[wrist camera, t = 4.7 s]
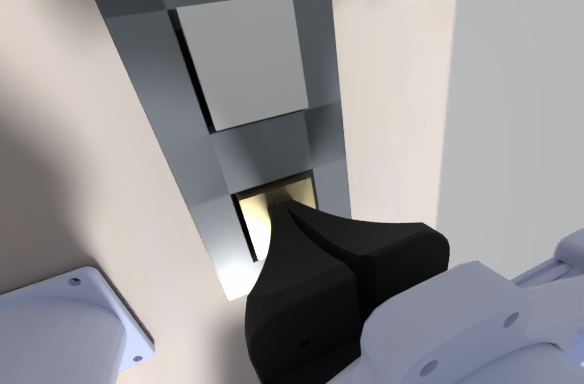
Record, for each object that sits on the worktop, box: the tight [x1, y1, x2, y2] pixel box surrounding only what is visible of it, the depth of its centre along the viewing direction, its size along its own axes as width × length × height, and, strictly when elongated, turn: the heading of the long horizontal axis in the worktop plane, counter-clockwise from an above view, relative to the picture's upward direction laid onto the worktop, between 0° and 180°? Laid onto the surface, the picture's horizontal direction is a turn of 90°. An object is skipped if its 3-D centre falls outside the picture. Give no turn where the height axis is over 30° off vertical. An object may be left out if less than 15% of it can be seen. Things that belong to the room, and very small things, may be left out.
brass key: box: [236, 172, 316, 260], centre depth 14 cm, size 4×4×3 cm
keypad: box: [95, 0, 352, 301], centre depth 11 cm, size 8×22×3 cm, turn 11°
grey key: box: [176, 0, 309, 131], centre depth 9 cm, size 4×4×3 cm
